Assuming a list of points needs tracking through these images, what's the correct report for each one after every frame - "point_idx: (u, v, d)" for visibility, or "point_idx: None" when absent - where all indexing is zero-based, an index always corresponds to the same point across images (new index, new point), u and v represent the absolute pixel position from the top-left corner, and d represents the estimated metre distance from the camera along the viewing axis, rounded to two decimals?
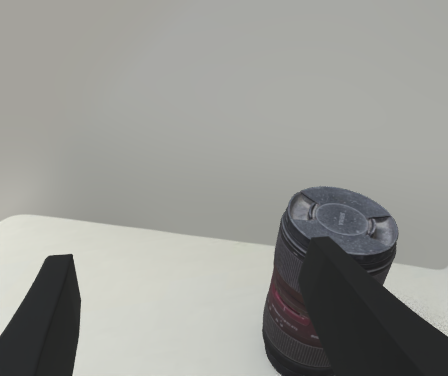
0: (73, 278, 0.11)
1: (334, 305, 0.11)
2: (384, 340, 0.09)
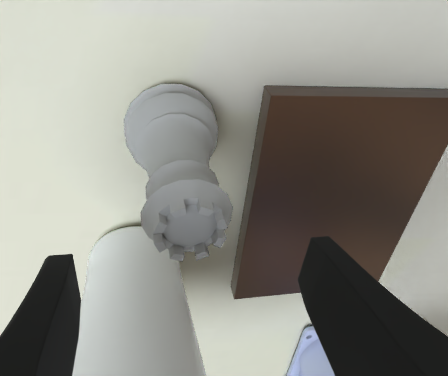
0: (73, 278, 0.11)
1: (334, 305, 0.11)
2: (384, 340, 0.09)
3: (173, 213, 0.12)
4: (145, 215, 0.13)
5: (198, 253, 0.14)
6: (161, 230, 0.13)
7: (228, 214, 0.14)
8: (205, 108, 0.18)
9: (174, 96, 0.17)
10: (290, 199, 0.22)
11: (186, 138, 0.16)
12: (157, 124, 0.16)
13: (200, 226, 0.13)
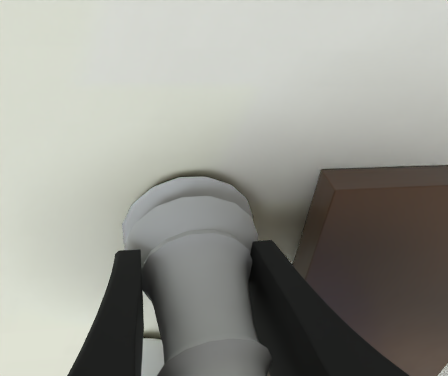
0: None
1: (270, 312, 0.11)
2: (308, 350, 0.09)
3: None
4: None
5: None
6: None
7: None
8: (242, 214, 0.12)
9: (197, 202, 0.11)
10: (344, 304, 0.17)
11: (218, 280, 0.10)
12: (174, 250, 0.11)
13: None
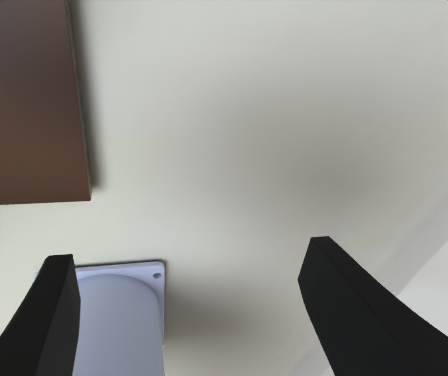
0: (73, 278, 0.11)
1: (334, 305, 0.11)
2: (384, 340, 0.09)
3: None
4: None
5: None
6: None
7: None
8: None
9: None
10: None
11: None
12: None
13: None
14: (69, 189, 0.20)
